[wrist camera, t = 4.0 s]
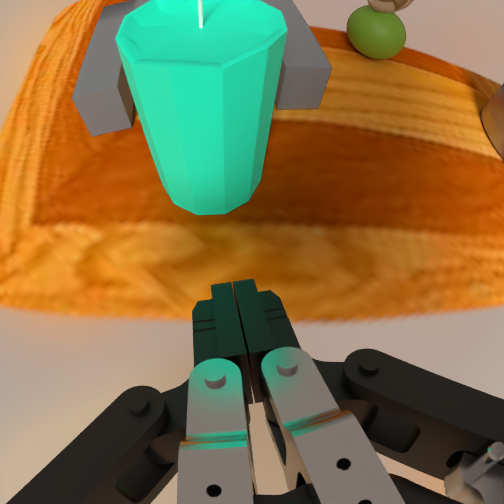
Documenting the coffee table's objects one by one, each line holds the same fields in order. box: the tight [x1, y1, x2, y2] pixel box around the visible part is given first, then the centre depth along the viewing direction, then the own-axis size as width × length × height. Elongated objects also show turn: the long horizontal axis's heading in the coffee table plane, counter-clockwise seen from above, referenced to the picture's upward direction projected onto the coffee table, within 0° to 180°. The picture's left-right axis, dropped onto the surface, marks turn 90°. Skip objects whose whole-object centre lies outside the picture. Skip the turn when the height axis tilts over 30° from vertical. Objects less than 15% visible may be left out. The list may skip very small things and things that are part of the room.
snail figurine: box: [347, 0, 413, 59], centre depth 18 cm, size 5×6×12 cm
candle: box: [115, 0, 287, 215], centre depth 13 cm, size 6×6×12 cm
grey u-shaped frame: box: [72, 0, 332, 136], centre depth 20 cm, size 16×13×4 cm
